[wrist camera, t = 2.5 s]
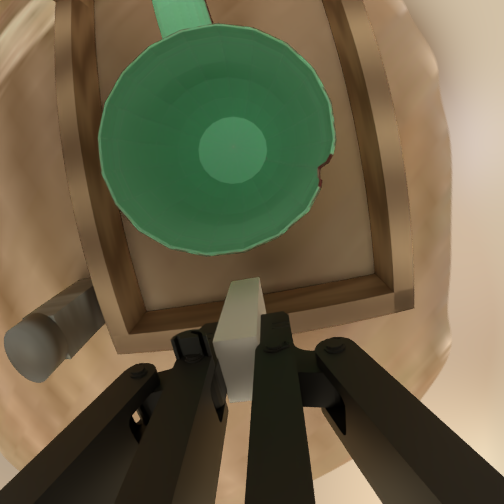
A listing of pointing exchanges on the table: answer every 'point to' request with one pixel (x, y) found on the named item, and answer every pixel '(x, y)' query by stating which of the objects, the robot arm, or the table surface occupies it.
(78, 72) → the bay
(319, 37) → the table surface
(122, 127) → the mug
